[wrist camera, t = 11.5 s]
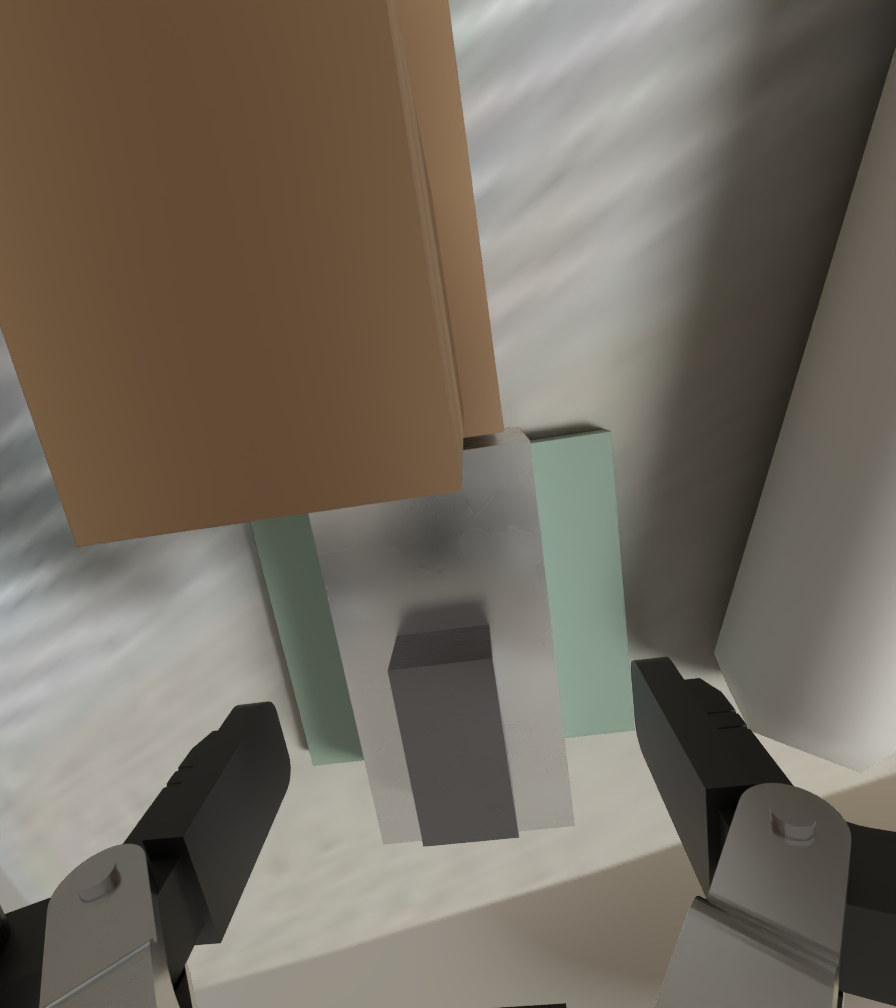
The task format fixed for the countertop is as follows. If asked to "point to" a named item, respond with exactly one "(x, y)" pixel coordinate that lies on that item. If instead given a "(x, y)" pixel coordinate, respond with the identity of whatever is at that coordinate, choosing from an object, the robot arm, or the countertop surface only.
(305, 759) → the countertop surface
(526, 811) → the lever cap
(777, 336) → the countertop surface
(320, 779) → the countertop surface
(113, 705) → the countertop surface
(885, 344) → the tube
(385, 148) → the body
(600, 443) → the mat
